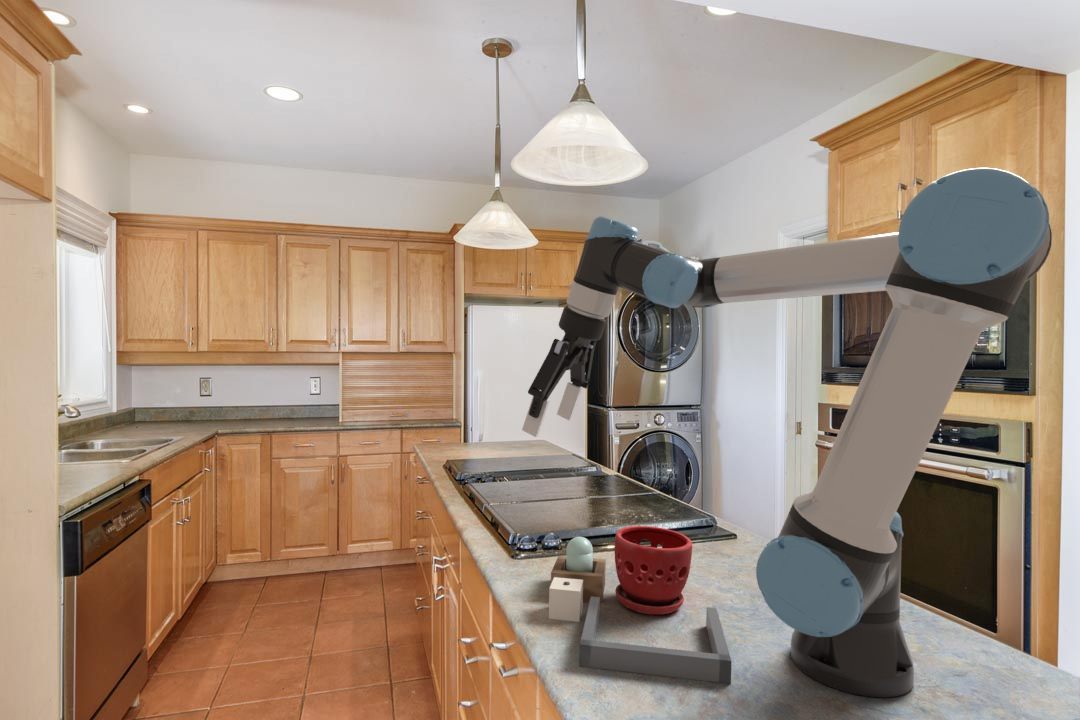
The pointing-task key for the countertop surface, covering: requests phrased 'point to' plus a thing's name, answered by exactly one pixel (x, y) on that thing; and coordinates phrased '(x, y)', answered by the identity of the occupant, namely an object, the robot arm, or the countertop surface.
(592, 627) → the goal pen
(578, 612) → the cream cube with hole
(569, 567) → the dome button
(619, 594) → the plant pot
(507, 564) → the countertop surface
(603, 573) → the button box
